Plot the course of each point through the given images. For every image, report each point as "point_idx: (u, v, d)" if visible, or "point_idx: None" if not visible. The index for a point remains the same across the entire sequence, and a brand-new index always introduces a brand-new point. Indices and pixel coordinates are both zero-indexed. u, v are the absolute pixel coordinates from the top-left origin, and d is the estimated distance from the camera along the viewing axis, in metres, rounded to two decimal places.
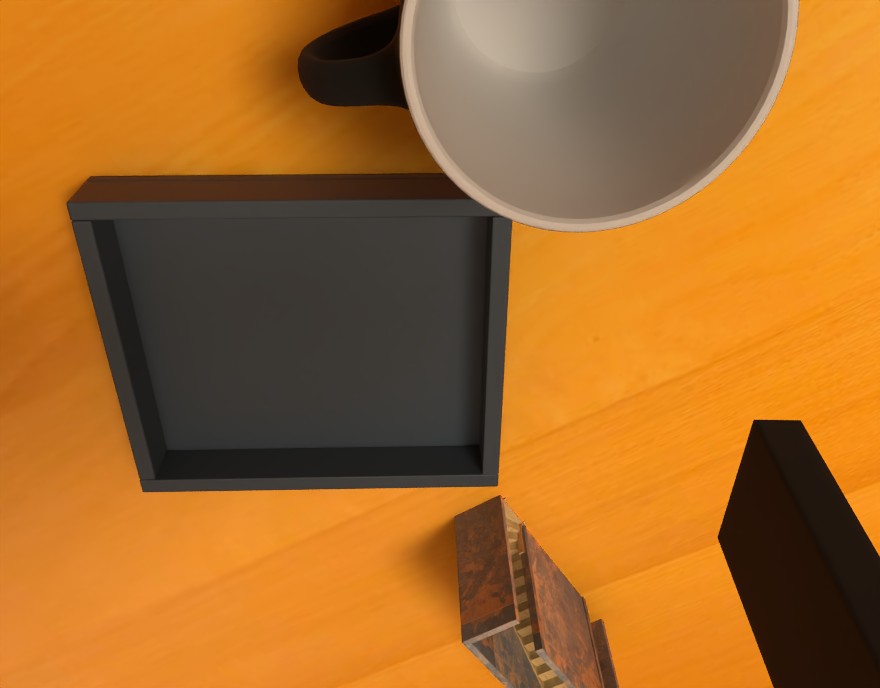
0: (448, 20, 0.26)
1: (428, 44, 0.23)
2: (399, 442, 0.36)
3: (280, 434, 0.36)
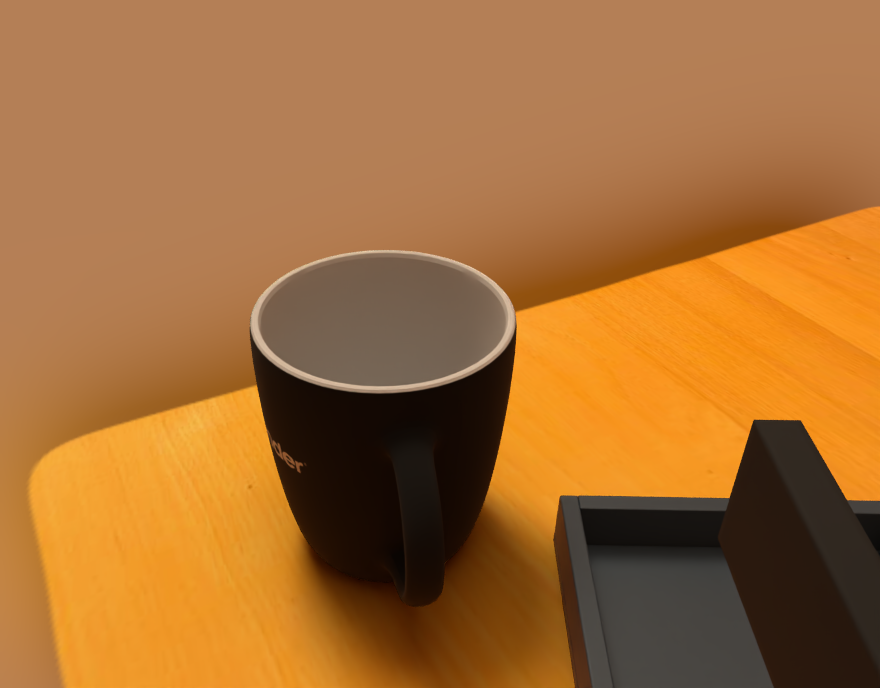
0: None
1: None
2: None
3: None
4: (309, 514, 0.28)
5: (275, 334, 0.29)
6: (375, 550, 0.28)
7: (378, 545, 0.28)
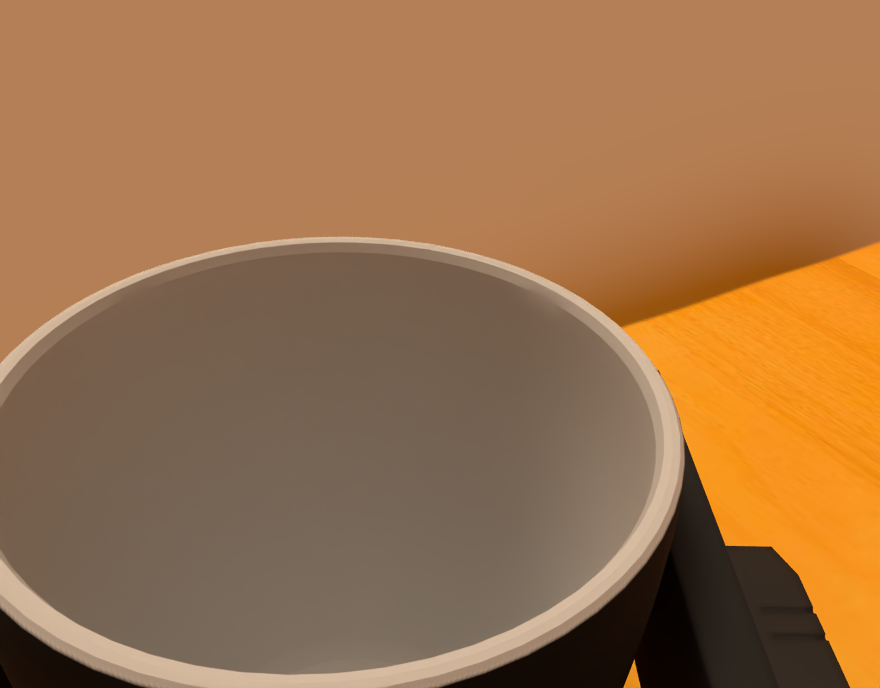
0: None
1: None
2: None
3: None
4: None
5: (78, 428, 0.12)
6: None
7: None
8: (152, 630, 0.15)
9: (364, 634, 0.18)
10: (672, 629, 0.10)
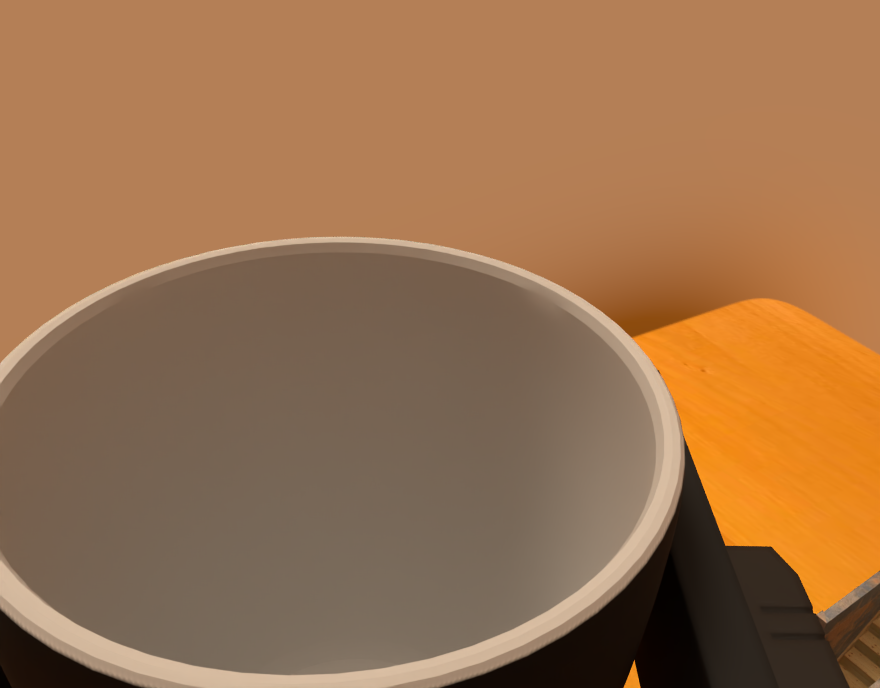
0: None
1: None
2: None
3: None
4: None
5: (77, 428, 0.12)
6: None
7: None
8: (152, 630, 0.15)
9: (364, 634, 0.18)
10: (671, 628, 0.10)
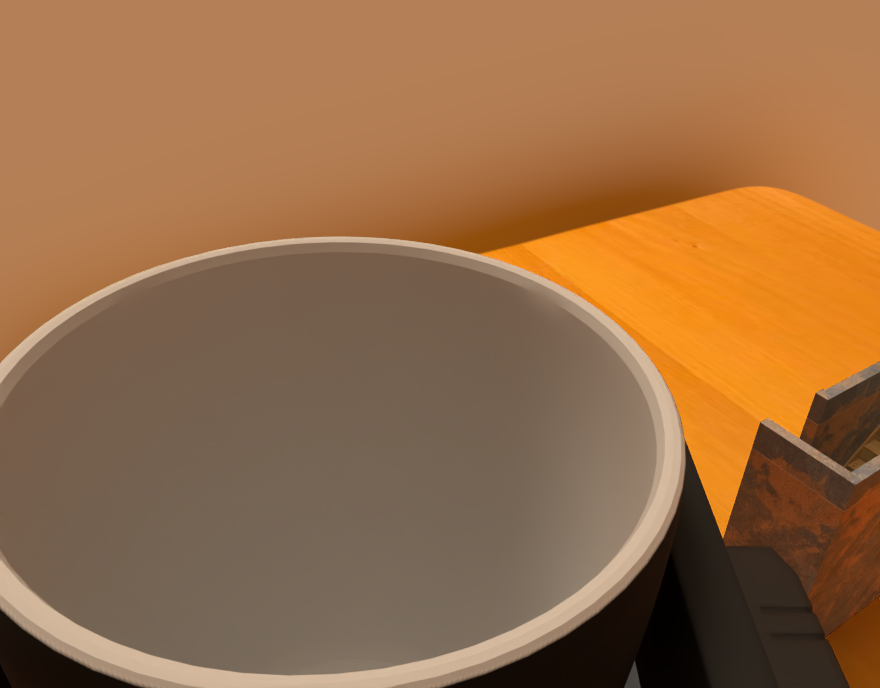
0: None
1: None
2: None
3: None
4: None
5: (77, 428, 0.12)
6: None
7: None
8: (152, 630, 0.15)
9: (364, 634, 0.18)
10: (672, 629, 0.10)
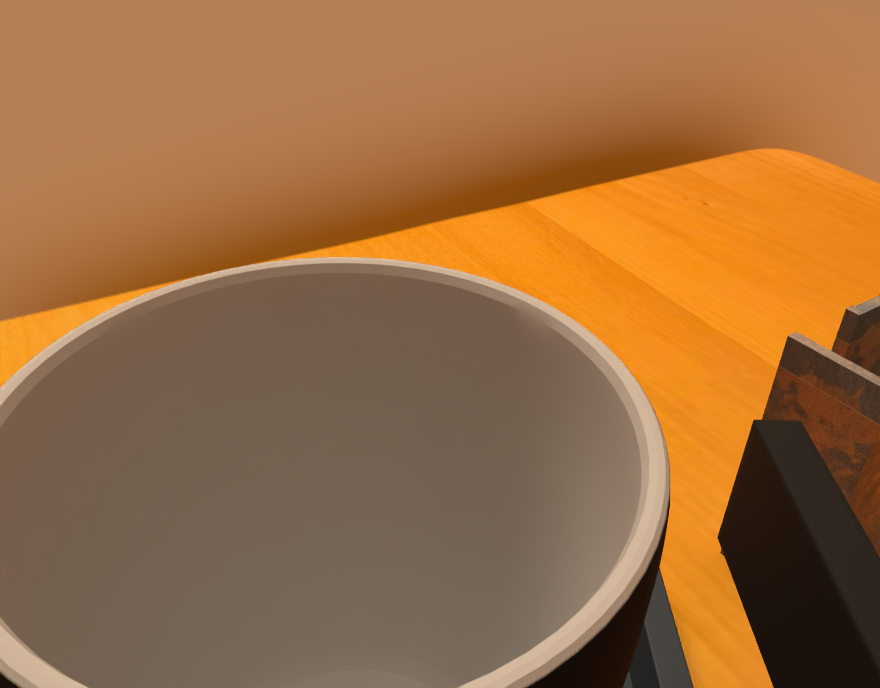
0: None
1: None
2: None
3: None
4: None
5: (70, 457, 0.12)
6: None
7: None
8: (153, 649, 0.15)
9: (366, 645, 0.18)
10: None
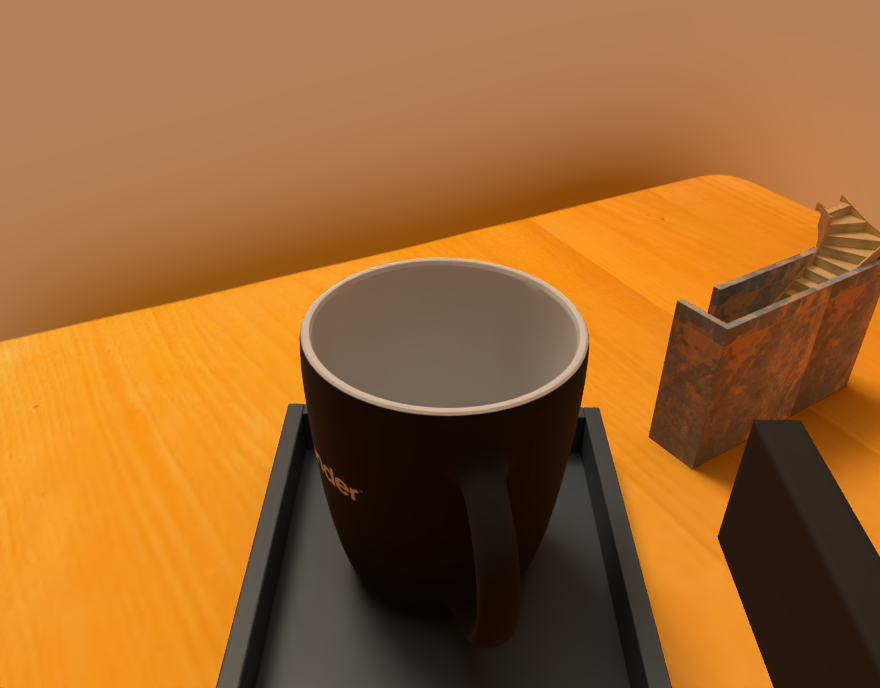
0: None
1: None
2: (587, 512, 0.32)
3: (594, 624, 0.28)
4: (362, 544, 0.26)
5: (323, 349, 0.27)
6: (434, 583, 0.26)
7: (437, 578, 0.25)
8: None
9: None
10: None
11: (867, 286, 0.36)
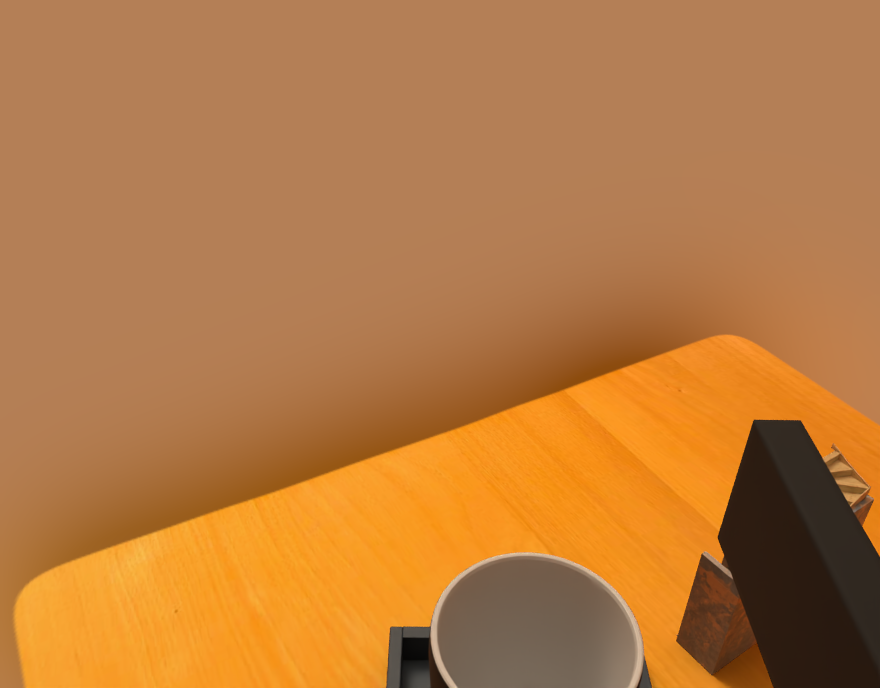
0: None
1: None
2: None
3: None
4: None
5: (440, 637, 0.35)
6: None
7: None
8: None
9: None
10: None
11: None
